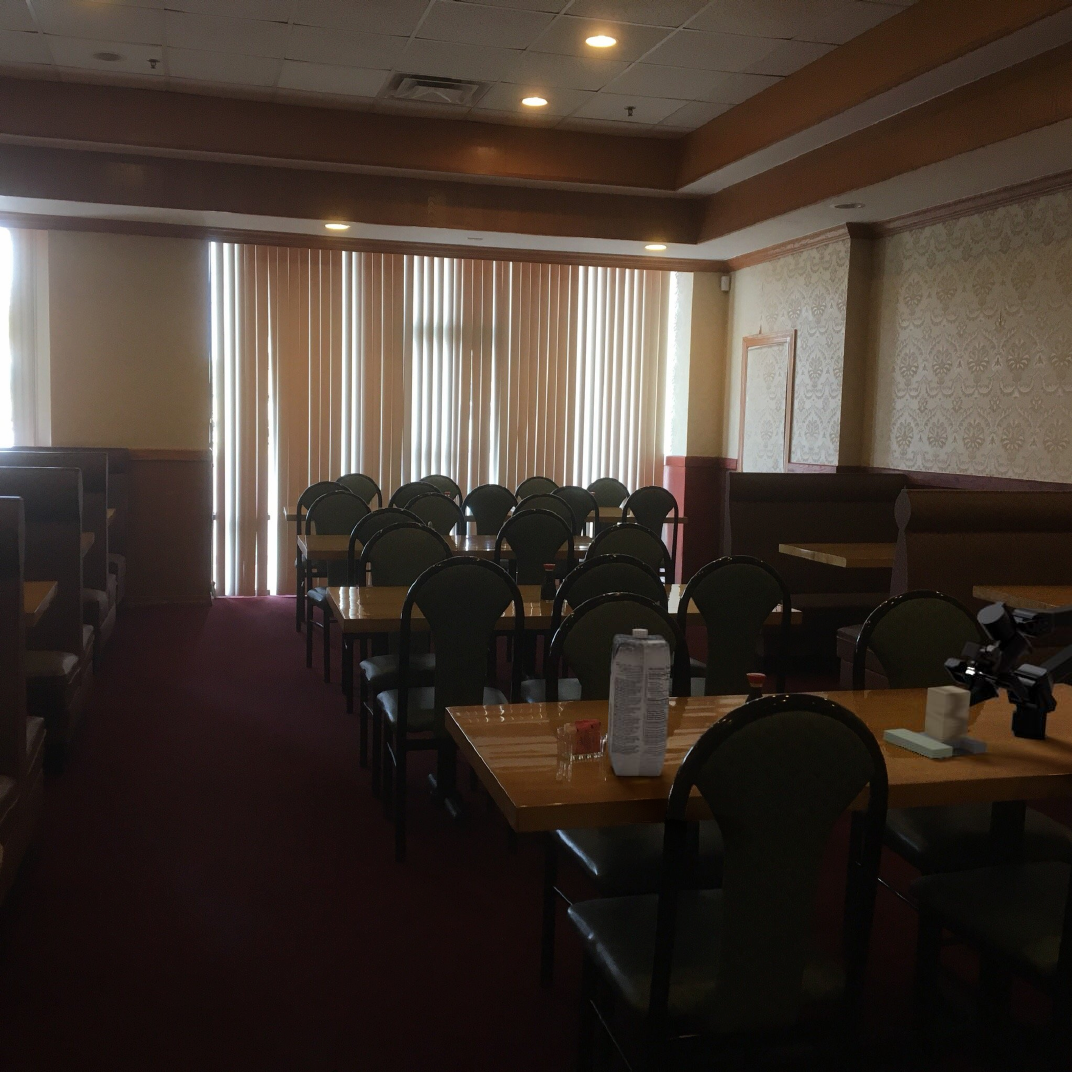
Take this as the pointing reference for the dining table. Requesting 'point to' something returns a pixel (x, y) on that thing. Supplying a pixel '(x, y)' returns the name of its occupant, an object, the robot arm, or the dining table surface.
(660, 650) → the juice carton
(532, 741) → the dining table surface
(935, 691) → the maple block
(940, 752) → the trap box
